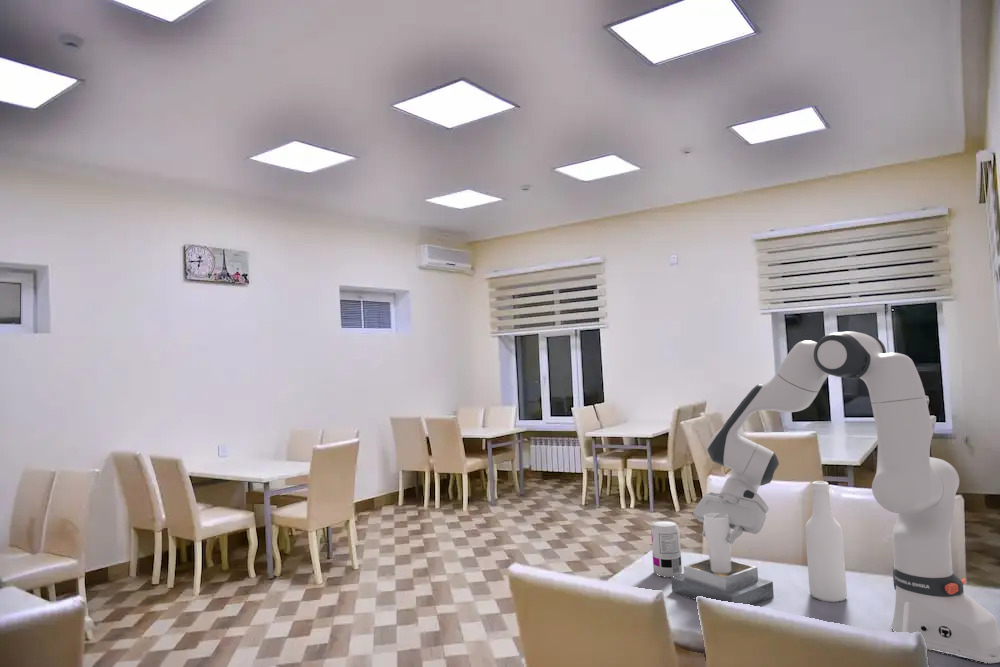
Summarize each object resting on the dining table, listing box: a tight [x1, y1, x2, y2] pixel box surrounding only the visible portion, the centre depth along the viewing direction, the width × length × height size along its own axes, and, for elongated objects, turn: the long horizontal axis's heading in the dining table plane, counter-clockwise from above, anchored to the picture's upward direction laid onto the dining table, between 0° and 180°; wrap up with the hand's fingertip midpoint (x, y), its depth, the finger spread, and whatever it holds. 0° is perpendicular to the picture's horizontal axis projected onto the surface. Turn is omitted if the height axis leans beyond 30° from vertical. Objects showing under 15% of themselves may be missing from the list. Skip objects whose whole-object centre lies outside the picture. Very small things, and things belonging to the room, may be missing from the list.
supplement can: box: [650, 520, 683, 578], centre depth 194 cm, size 8×8×15 cm
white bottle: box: [804, 480, 848, 603], centre depth 170 cm, size 9×9×30 cm
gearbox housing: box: [670, 557, 775, 606], centre depth 175 cm, size 20×17×8 cm
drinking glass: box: [703, 513, 732, 574], centre depth 176 cm, size 7×7×15 cm
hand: (716, 538), depth 176 cm, fingers closed on drinking glass, 6 cm apart
